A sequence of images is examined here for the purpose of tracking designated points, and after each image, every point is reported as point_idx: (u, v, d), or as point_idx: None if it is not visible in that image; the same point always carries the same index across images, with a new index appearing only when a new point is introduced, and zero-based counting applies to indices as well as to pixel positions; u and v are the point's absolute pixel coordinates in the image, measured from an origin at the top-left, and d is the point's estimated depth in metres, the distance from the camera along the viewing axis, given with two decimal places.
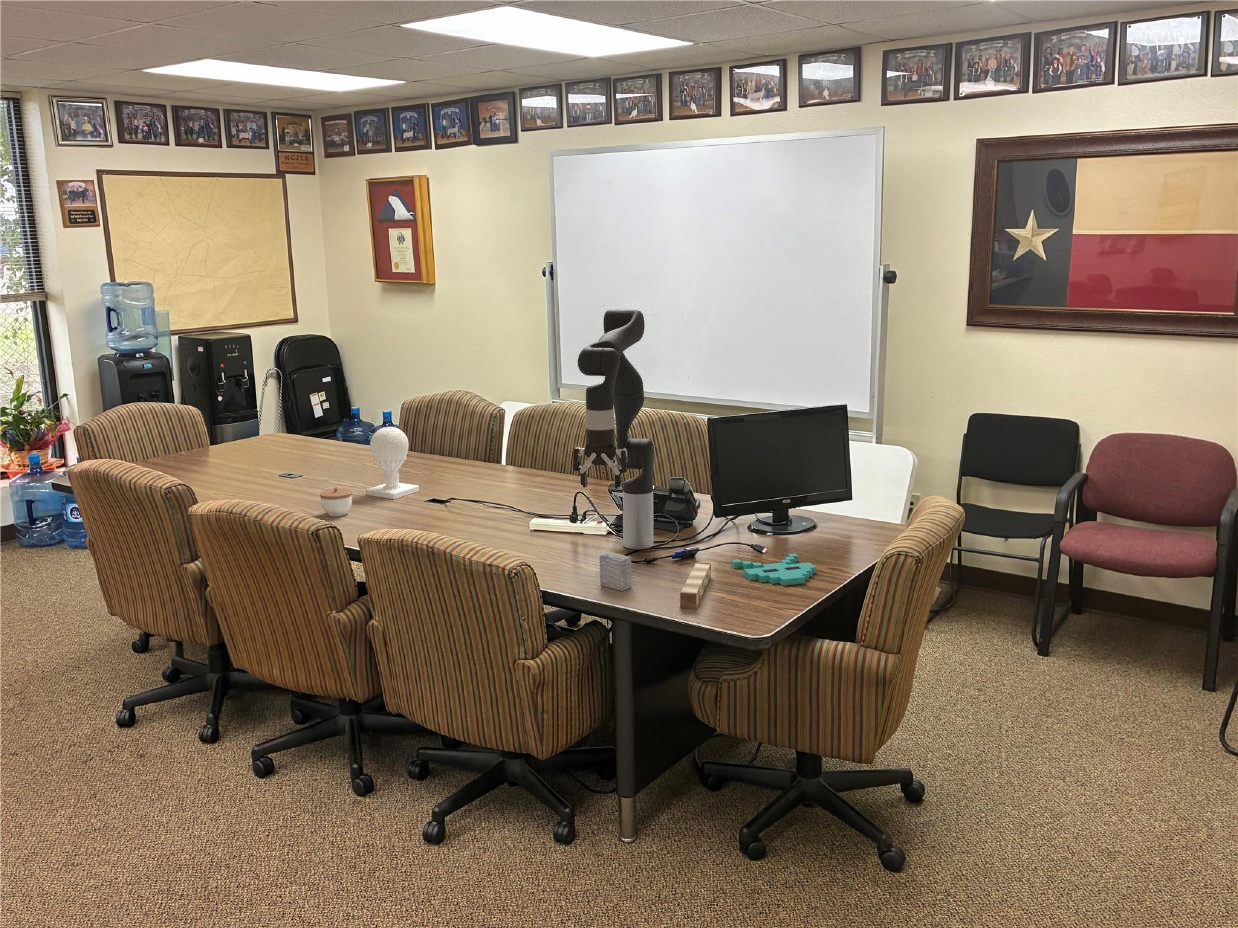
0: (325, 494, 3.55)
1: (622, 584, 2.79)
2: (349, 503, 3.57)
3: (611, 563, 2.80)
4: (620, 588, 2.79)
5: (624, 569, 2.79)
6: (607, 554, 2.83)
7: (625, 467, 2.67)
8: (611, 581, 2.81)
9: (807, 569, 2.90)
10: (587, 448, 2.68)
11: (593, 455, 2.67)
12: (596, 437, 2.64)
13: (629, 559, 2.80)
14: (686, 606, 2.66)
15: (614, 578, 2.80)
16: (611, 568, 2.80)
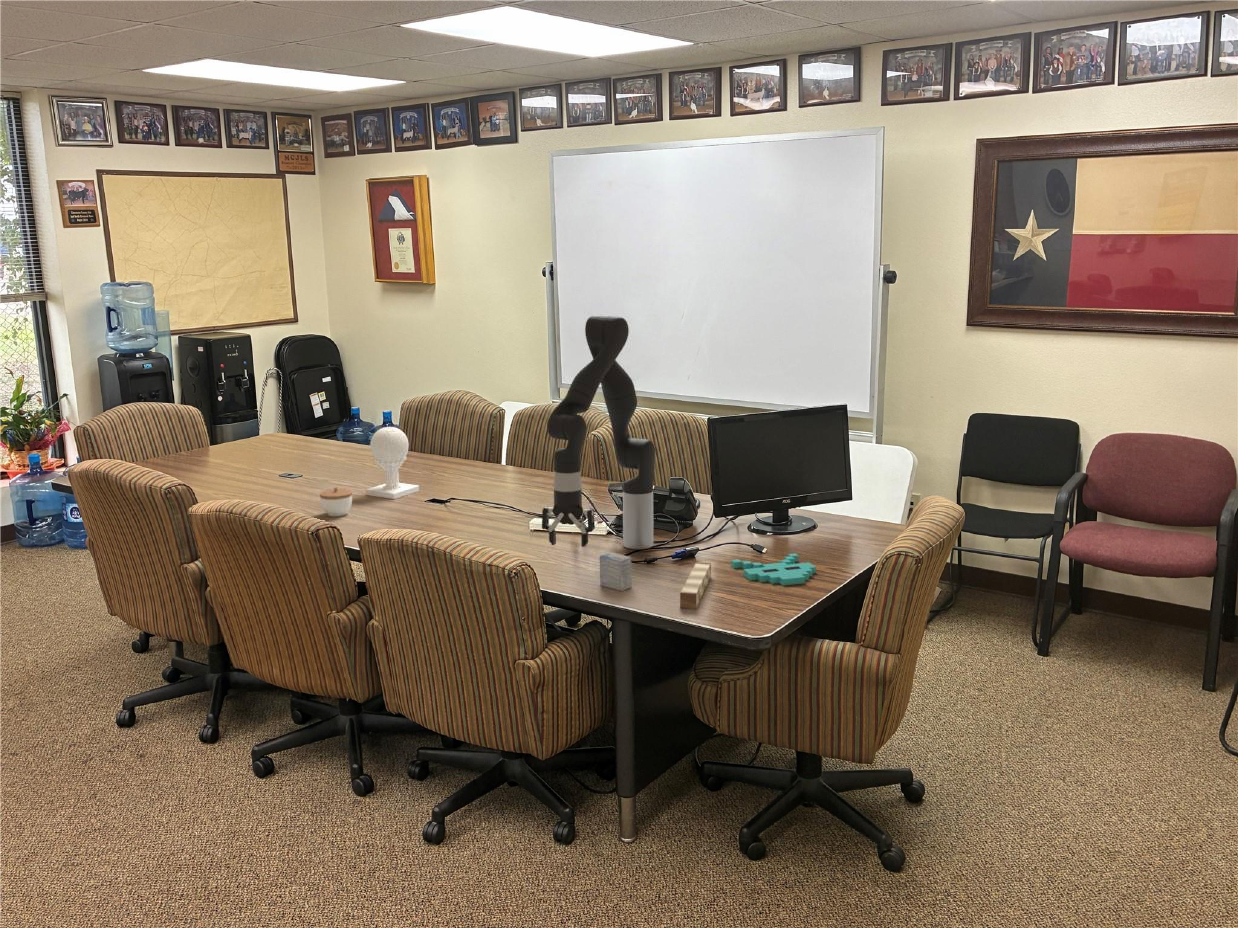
0: (325, 494, 3.55)
1: (622, 584, 2.79)
2: (349, 503, 3.57)
3: (611, 563, 2.80)
4: (620, 588, 2.79)
5: (624, 569, 2.79)
6: (607, 554, 2.83)
7: (591, 526, 2.80)
8: (611, 581, 2.81)
9: (807, 569, 2.90)
10: (555, 508, 2.81)
11: (561, 515, 2.80)
12: (563, 498, 2.77)
13: (629, 559, 2.80)
14: (686, 606, 2.66)
15: (614, 578, 2.80)
16: (611, 568, 2.80)
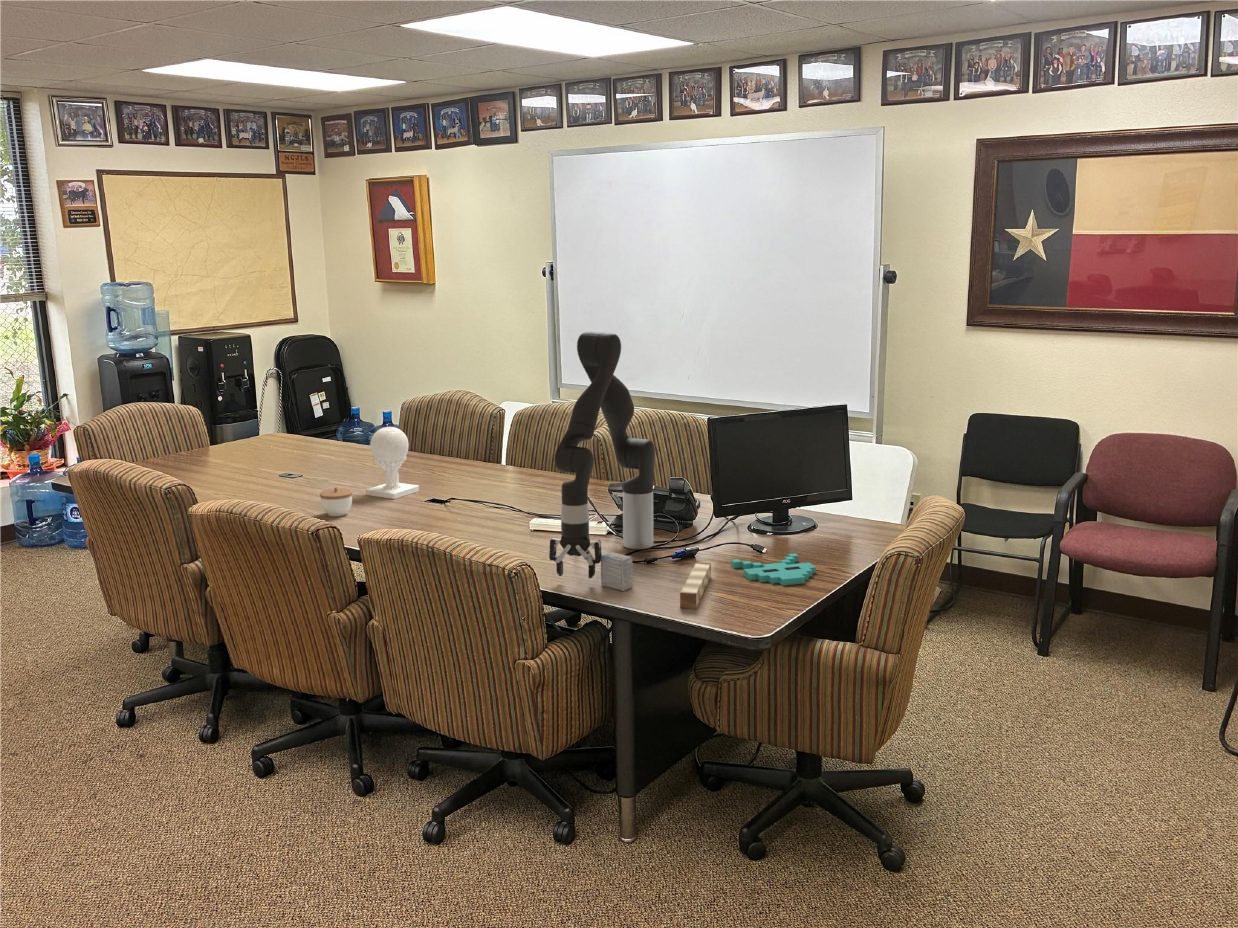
0: (325, 494, 3.55)
1: (623, 584, 2.79)
2: (349, 503, 3.57)
3: (612, 563, 2.80)
4: (621, 588, 2.79)
5: (625, 568, 2.79)
6: (608, 554, 2.83)
7: (598, 558, 2.81)
8: (612, 581, 2.81)
9: (807, 569, 2.90)
10: (562, 539, 2.83)
11: (568, 546, 2.82)
12: (570, 530, 2.79)
13: (630, 559, 2.80)
14: (686, 606, 2.66)
15: (616, 578, 2.80)
16: (612, 568, 2.80)
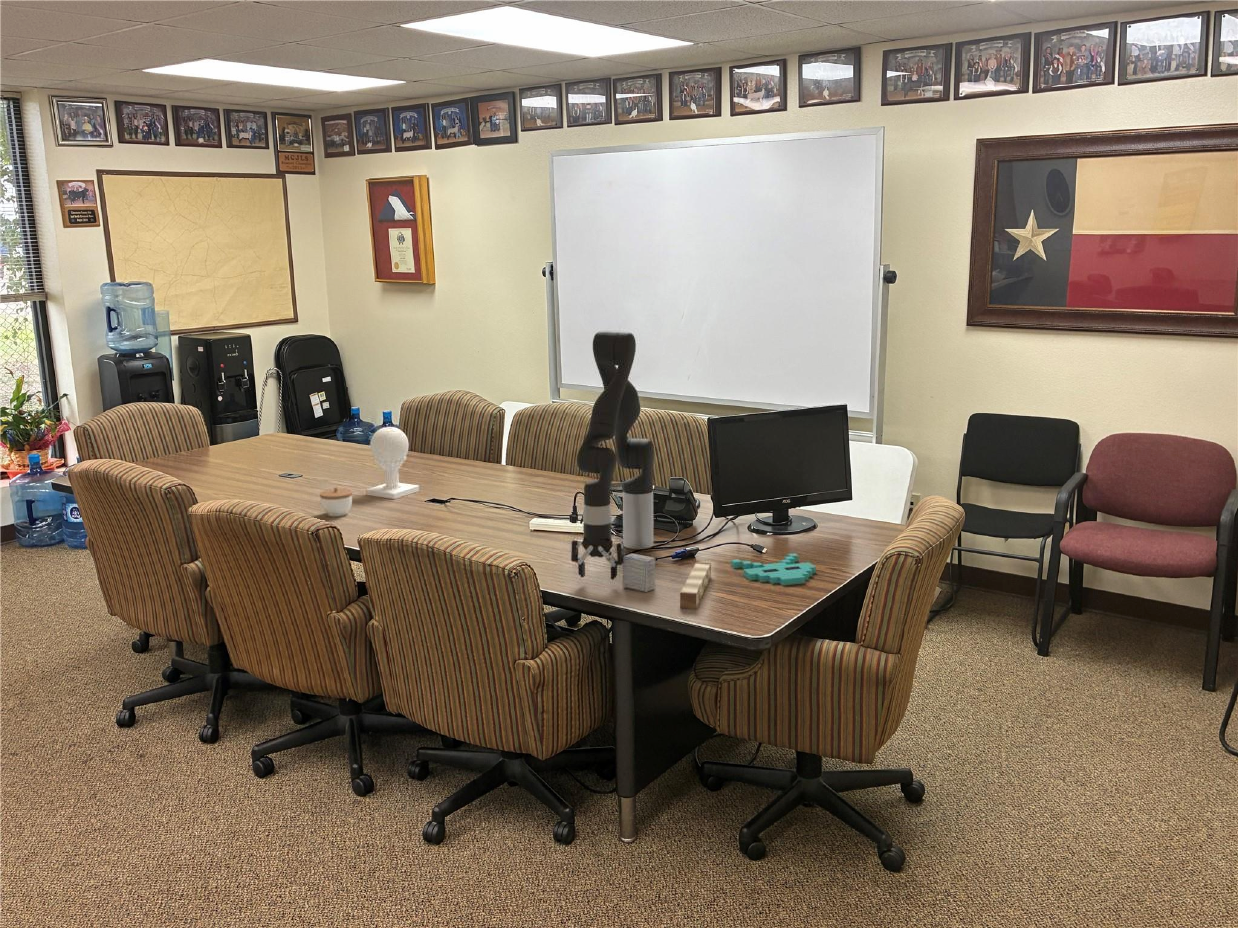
0: (325, 494, 3.55)
1: (647, 585, 2.78)
2: (349, 503, 3.57)
3: (636, 564, 2.78)
4: (645, 589, 2.78)
5: (649, 569, 2.78)
6: (630, 555, 2.81)
7: (620, 559, 2.80)
8: (635, 582, 2.79)
9: (807, 569, 2.90)
10: (585, 540, 2.81)
11: (590, 547, 2.80)
12: (593, 531, 2.77)
13: (654, 560, 2.79)
14: (686, 606, 2.66)
15: (639, 579, 2.78)
16: (635, 569, 2.79)
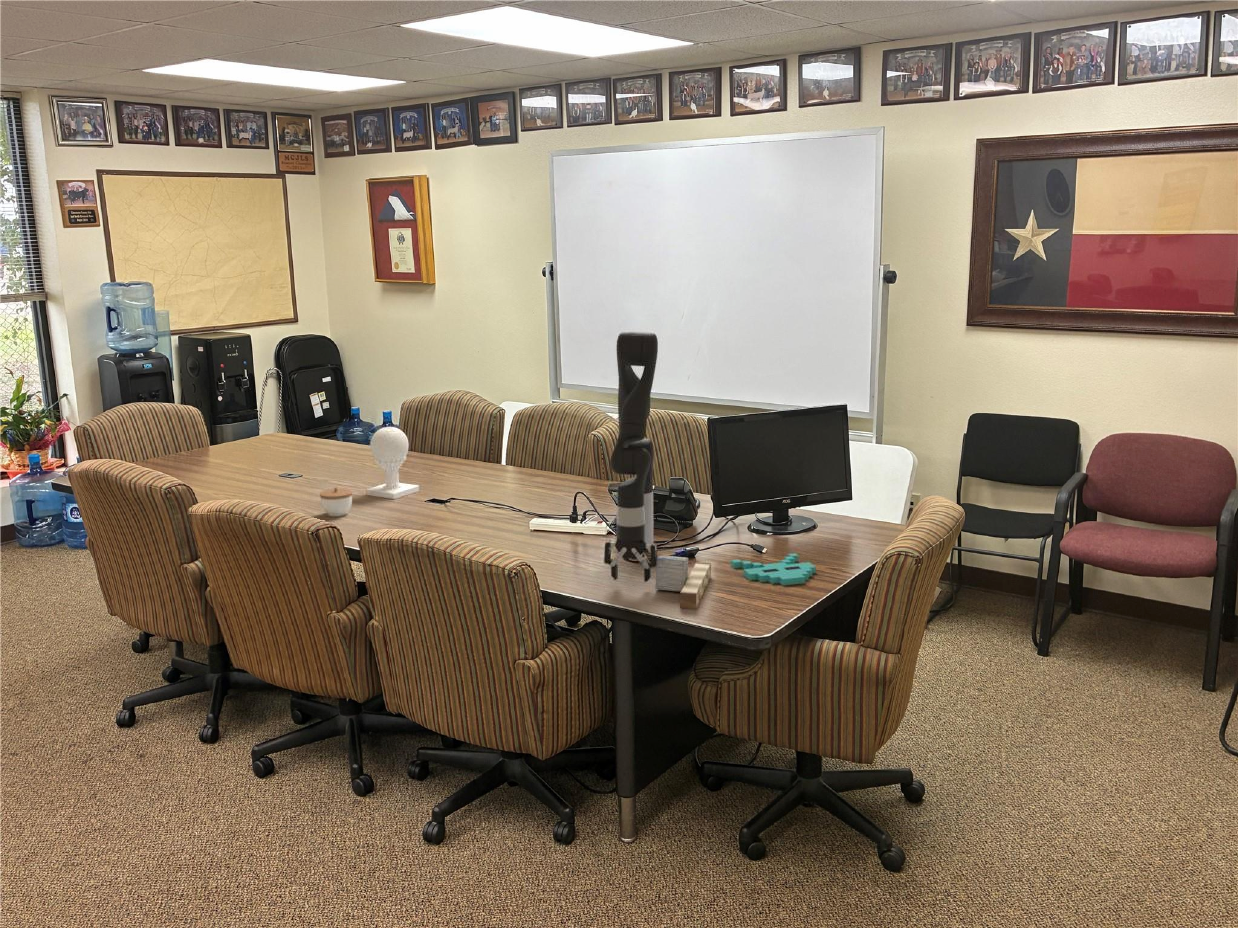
0: (325, 494, 3.55)
1: None
2: (349, 503, 3.57)
3: (672, 564, 2.77)
4: None
5: (685, 569, 2.77)
6: (662, 556, 2.79)
7: (654, 561, 2.77)
8: (670, 583, 2.77)
9: (807, 569, 2.90)
10: (618, 542, 2.79)
11: (624, 549, 2.78)
12: (627, 533, 2.75)
13: (687, 559, 2.79)
14: (686, 606, 2.66)
15: (675, 579, 2.77)
16: (671, 569, 2.77)
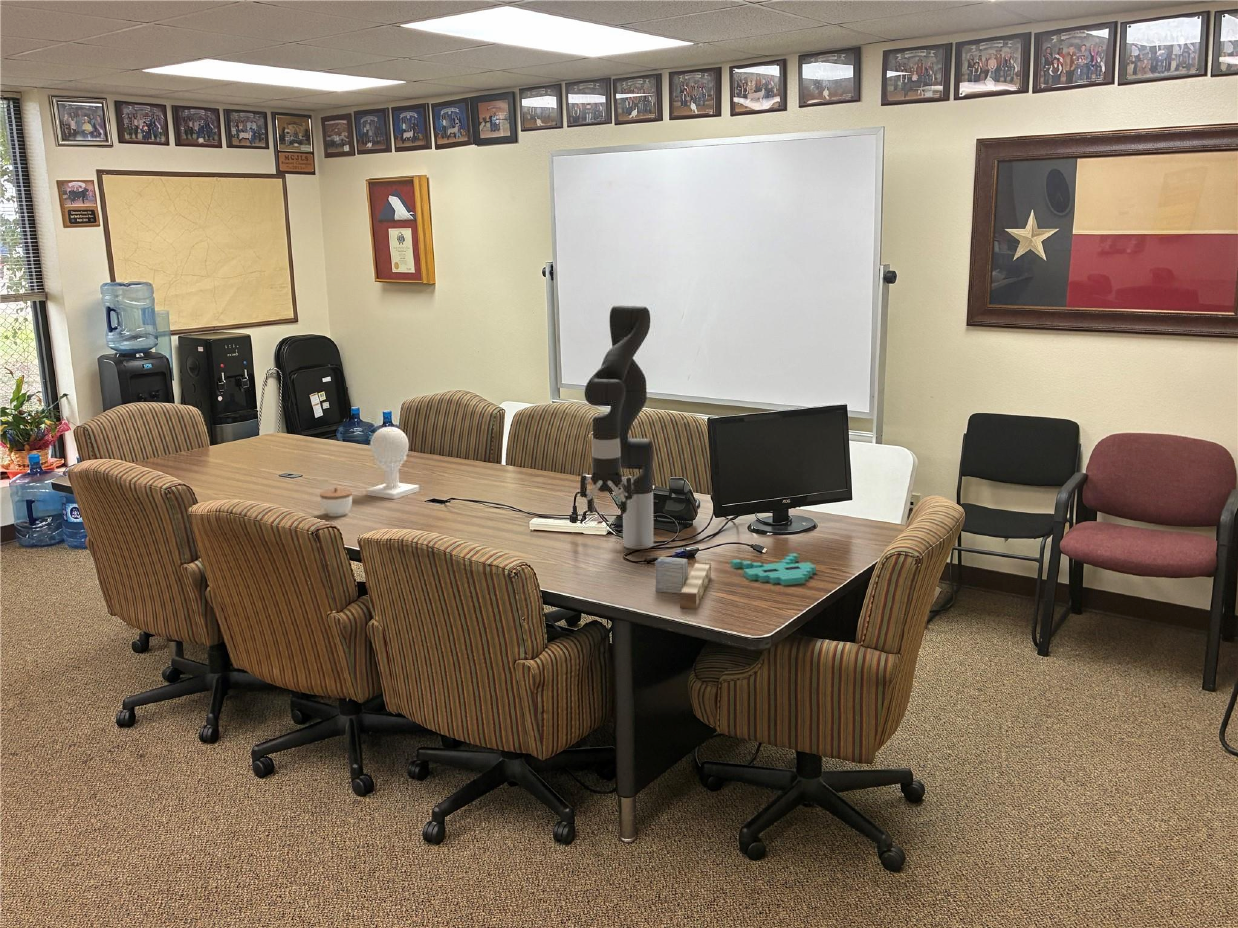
0: (325, 494, 3.55)
1: None
2: (349, 503, 3.57)
3: (671, 567, 2.76)
4: None
5: (685, 571, 2.76)
6: (661, 559, 2.78)
7: (631, 494, 2.75)
8: (670, 585, 2.77)
9: (807, 569, 2.90)
10: (594, 475, 2.77)
11: (600, 482, 2.76)
12: (602, 465, 2.73)
13: (687, 561, 2.78)
14: (686, 606, 2.66)
15: (675, 582, 2.77)
16: (670, 572, 2.76)
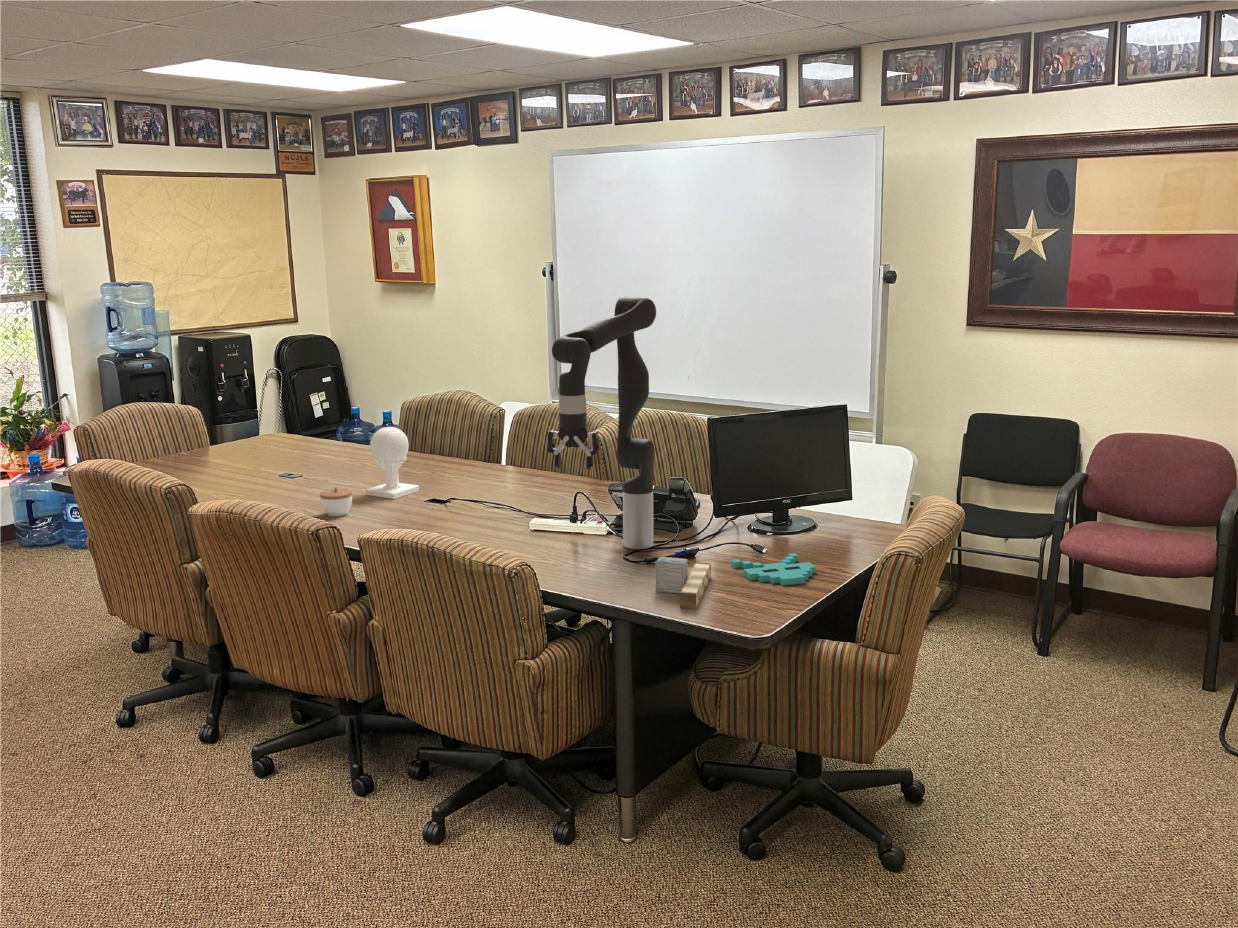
0: (325, 494, 3.55)
1: None
2: (349, 503, 3.57)
3: (671, 567, 2.76)
4: None
5: (685, 571, 2.76)
6: (661, 559, 2.79)
7: (596, 449, 2.86)
8: (670, 585, 2.77)
9: (807, 569, 2.90)
10: (560, 431, 2.87)
11: (566, 438, 2.86)
12: (568, 421, 2.83)
13: (687, 561, 2.78)
14: (686, 606, 2.66)
15: (675, 582, 2.77)
16: (670, 572, 2.76)
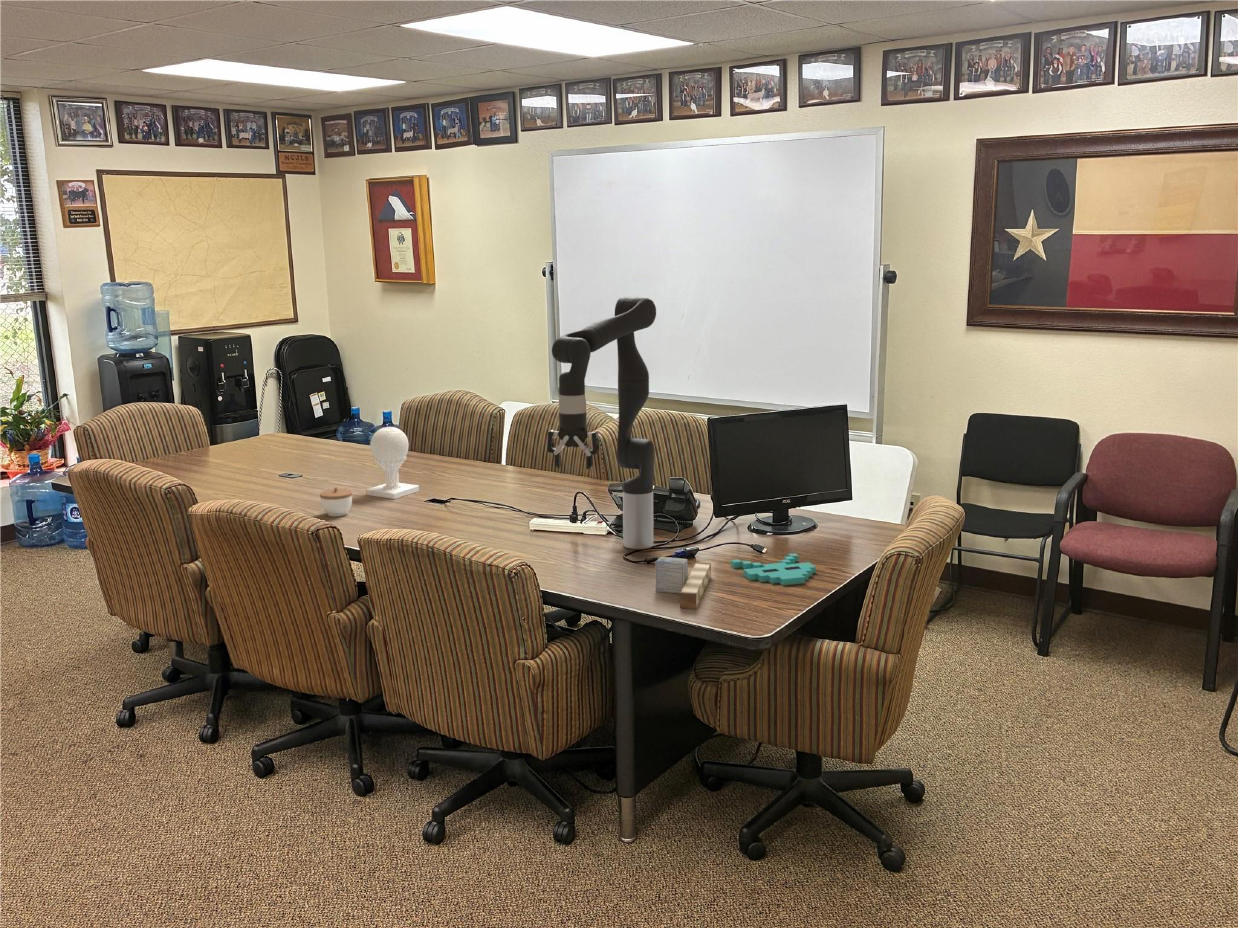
0: (325, 494, 3.55)
1: None
2: (349, 503, 3.57)
3: (671, 567, 2.76)
4: None
5: (685, 571, 2.76)
6: (661, 559, 2.79)
7: (596, 449, 2.86)
8: (670, 585, 2.77)
9: (807, 569, 2.90)
10: (560, 431, 2.87)
11: (566, 437, 2.86)
12: (568, 420, 2.83)
13: (687, 561, 2.78)
14: (686, 606, 2.66)
15: (675, 582, 2.77)
16: (670, 572, 2.76)
